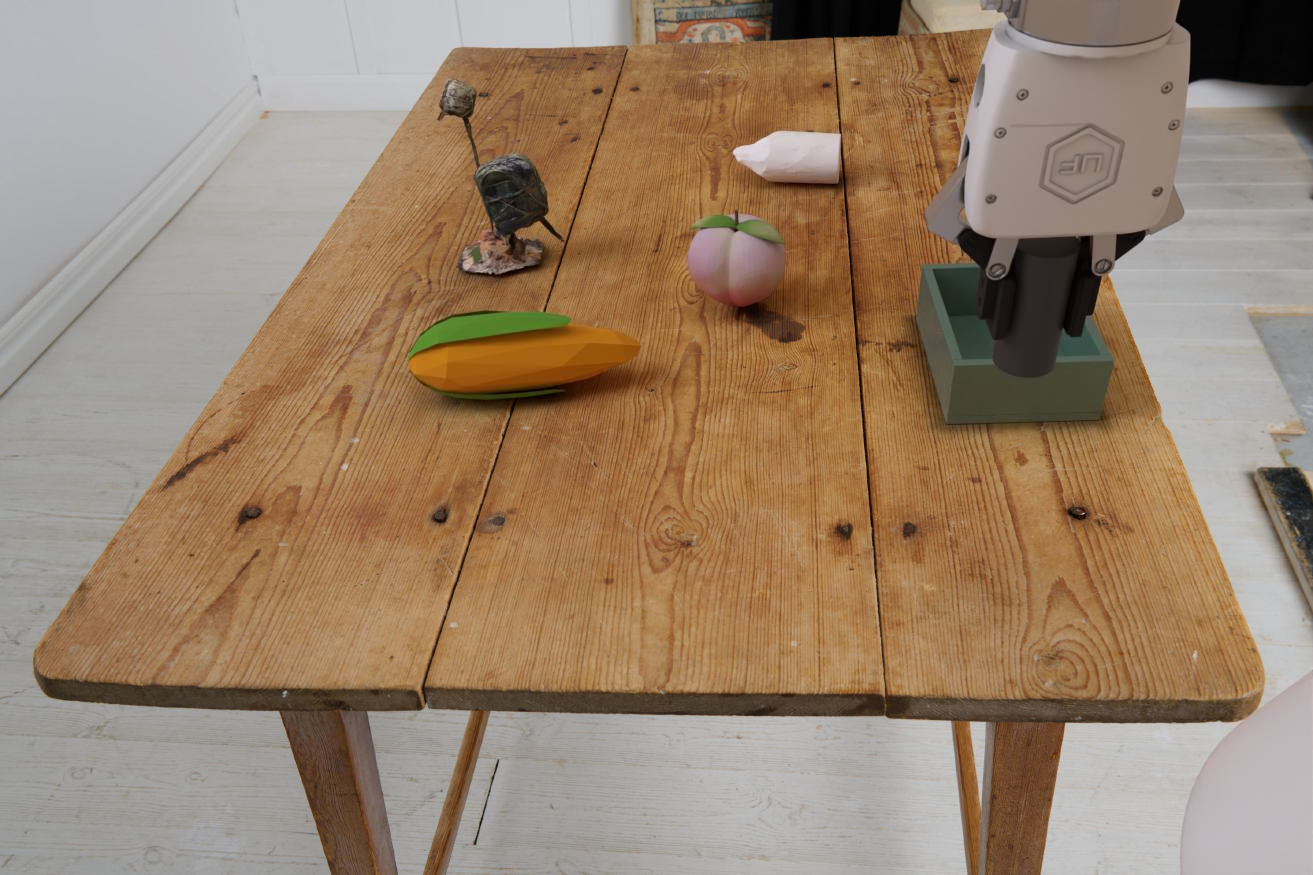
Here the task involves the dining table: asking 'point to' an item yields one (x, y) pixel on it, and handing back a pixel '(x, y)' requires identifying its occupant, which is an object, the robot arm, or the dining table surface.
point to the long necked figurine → (500, 198)
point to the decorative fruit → (736, 258)
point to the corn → (513, 353)
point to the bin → (978, 383)
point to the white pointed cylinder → (794, 157)
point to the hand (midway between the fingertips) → (1030, 323)
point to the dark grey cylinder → (1037, 305)
